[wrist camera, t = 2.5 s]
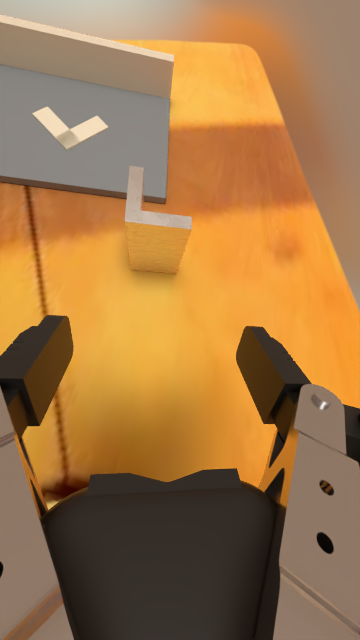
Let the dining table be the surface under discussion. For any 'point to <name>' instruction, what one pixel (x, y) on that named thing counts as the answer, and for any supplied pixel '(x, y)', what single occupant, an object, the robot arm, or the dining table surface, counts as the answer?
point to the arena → (82, 111)
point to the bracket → (152, 231)
